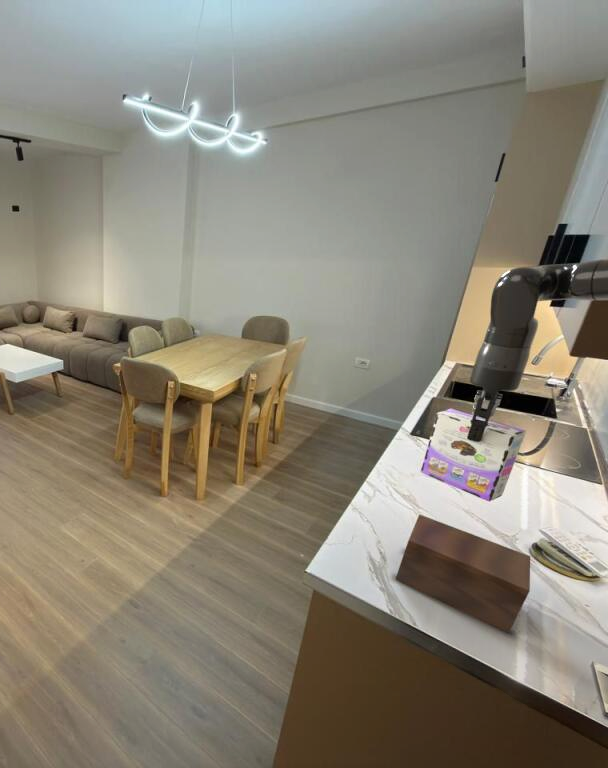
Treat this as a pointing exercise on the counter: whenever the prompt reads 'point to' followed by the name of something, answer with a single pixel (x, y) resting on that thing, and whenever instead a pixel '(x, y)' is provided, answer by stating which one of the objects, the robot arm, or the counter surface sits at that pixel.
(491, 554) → the walnut wooden block
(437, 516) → the counter surface
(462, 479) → the candy box
